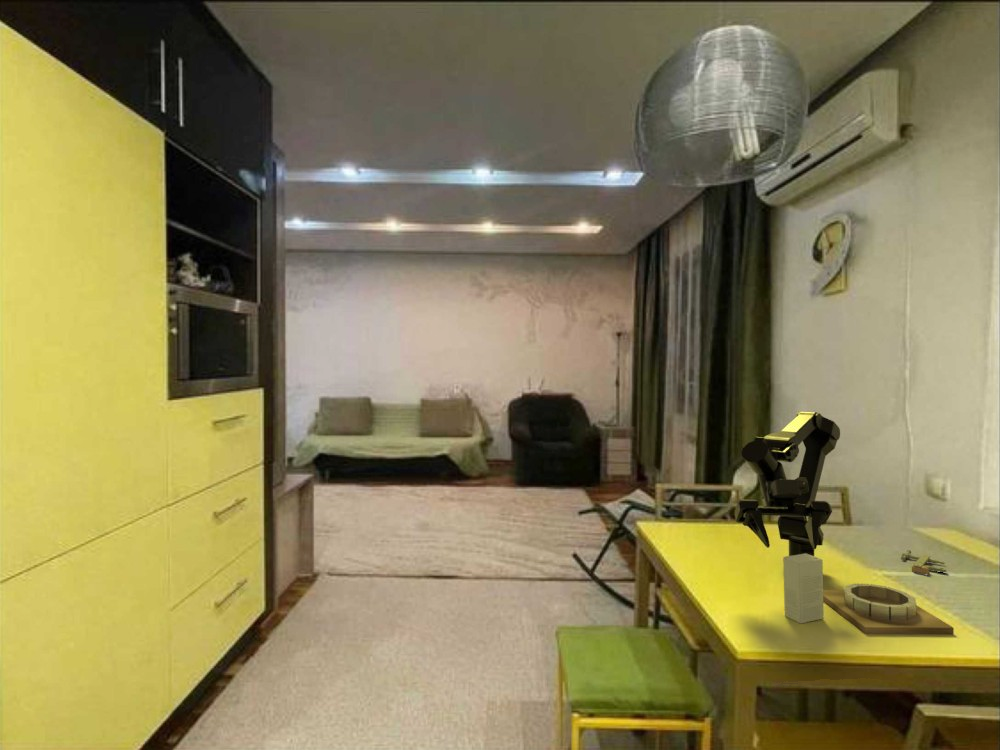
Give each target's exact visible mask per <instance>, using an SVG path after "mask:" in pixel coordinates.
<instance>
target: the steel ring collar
mask: <svg viewBox="0 0 1000 750" xmlns="http://www.w3.org/2000/svg"><path fill="white" fill-rule="evenodd" d="M843 590H844V604H845V605H846V606H848V607H849V608H851V609H852V610H854V611H856V612H859V613H861V614H864V615H867V616H871V617H875V618H880V619H886V620H889V619H890V620H910V619H912V618H915V617H916V605H917V600H916V597H914V596H912V595H911V594H909V593H907V592H905V591H903V590H900V589H896V588H894V587H893V588H892V587H891V586H890V587H889V586H886V585H880V584H879V585H878V584H873V583H870V584H869V583H853V584H848V585H846V586H844V589H843ZM862 598H875V599H881V600H887V601H890V602H893V603H896V604H899V605H886V604H880V603H875V602H870V601H867V600H864V599H862Z"/></svg>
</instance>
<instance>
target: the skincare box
mask: <svg viewBox="0 0 1000 750" xmlns="http://www.w3.org/2000/svg"><path fill="white" fill-rule="evenodd" d="M782 558H783V559H782V561H783V562H782V563H783V599H784V600H783V601H784V607H783V609H784V615H785V617H787V618H788V619H791V620H793V621H795V622H797V623H798V624H804V623H810V622H813V621H819V620H823V619H824V618H825V617H824V613H825V612H824V601H823V590H824V578H823V577H824V572H823V567H824V566H823V563H824V562H823V559H822V558H819V557H818V556H815V555H814V556H812V555H809V554H806V553H804V554H799V555H792V556H789V555H788V556H783V557H782Z"/></svg>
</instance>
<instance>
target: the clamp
mask: <svg viewBox="0 0 1000 750" xmlns="http://www.w3.org/2000/svg"><path fill="white" fill-rule="evenodd" d="M911 554H912V551H911V550H910V549H908V550H907V551H906V553H905V552H902V554H901V557H900V559H901V560H902V562H903V561H906V560H909V559H911V560H916V561H915V562H914V563H913V564H912V566H911V573H913V572H916V573H915V574H918V573H922V574H921V575H923V574H928V573H929V574H930V571H931V570H934V571H933V572H936V571H940V572H946V573H947V568H945V567H941V566H931V565H926V564H927V563H926V562H929V563H930V564H931V563H932V564H936V563H940V564H939V565H944V564H946V562H944V561H940V560H936V559H933V558H931V555H927V554H921V556H916V555H911ZM929 574H928V575H929Z"/></svg>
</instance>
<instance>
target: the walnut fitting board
mask: <svg viewBox="0 0 1000 750" xmlns="http://www.w3.org/2000/svg"><path fill="white" fill-rule="evenodd" d="M862 599H864V600H867V601H870V602H875V603H880V604H886V605H899V604H896V603H893V602H890V601H887V600H881V599H875V598H862ZM823 603H825V604H826V605H828V606H829V607H830V608H831V609H833V610H834V611H835V612H837V613H838V614H839V615H840V616H842V617H843V618H844V619H846V620H847V621H848V622H849V623H851V624H852V625H853V626H855V627H856V628H857V629H859V630H860V631H861V632H863V633H864V635H865V634H866V635H867V634H869V635H870V634H872V635H876V634H877V635H880V634H881V635H897V634H899V635H900V634H902V635H905V634H906V635H954V634H955V633H954V627H953V626H952V625H951V624H949V623H947V622H945V621H944V620H942V619H941V618H938V617H937V616H935V615H933V614H931V613H930V612H928V610H925V609H923V608H922V607H920V606H919V605H917V604H916V617H915V618H912V619H910V620H890V619H889V620H886V619H880V618H875V617H871V616H867V615H864V614H861V613H859V612H856V611H854V610H852V609H851V608H849V607H848V606H846V605H845V604H844V589H823Z"/></svg>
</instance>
